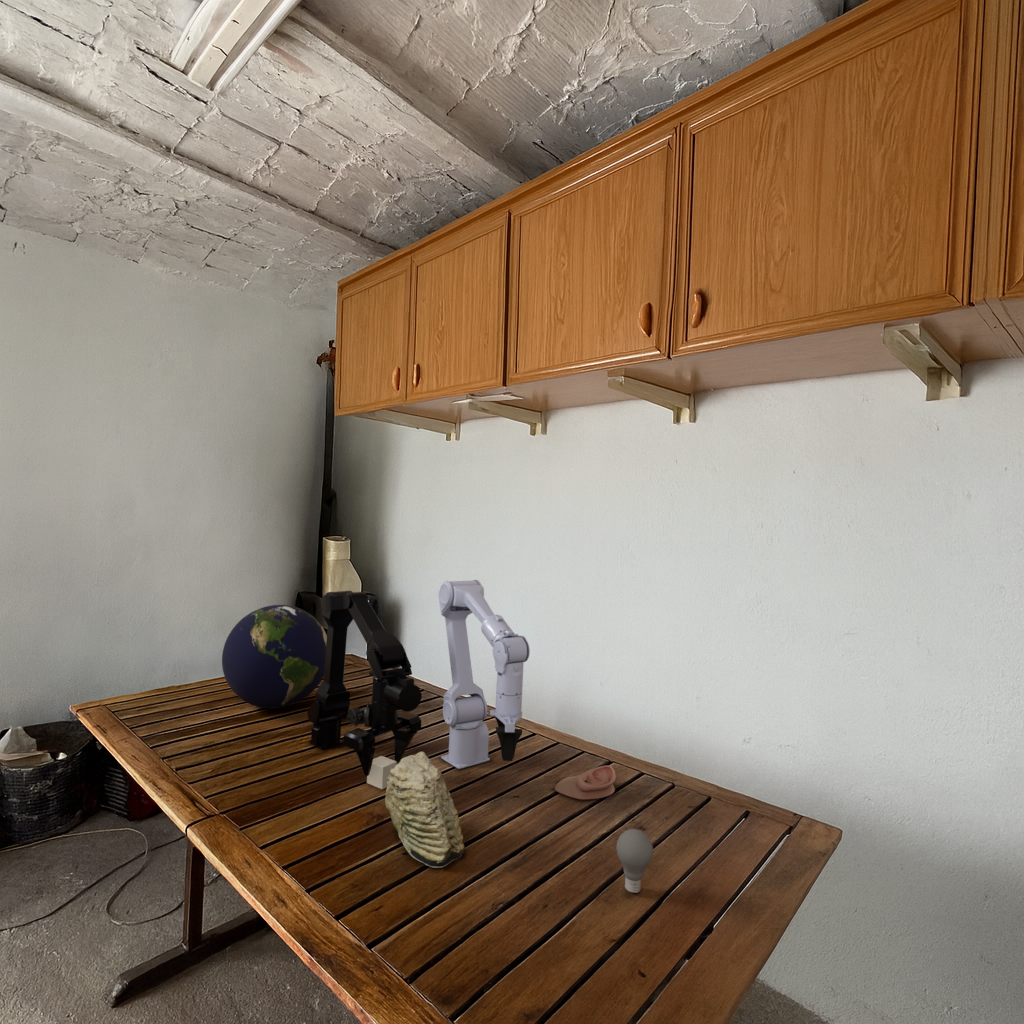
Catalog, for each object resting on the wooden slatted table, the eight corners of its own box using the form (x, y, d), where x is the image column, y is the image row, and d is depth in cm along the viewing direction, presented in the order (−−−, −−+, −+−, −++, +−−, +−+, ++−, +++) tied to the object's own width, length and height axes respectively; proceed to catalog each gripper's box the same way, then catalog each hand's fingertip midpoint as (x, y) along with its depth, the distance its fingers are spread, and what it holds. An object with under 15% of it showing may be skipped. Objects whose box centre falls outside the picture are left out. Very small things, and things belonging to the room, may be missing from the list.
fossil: (411, 815, 127) (414, 741, 127) (473, 855, 114) (476, 772, 114) (373, 831, 121) (376, 753, 120) (434, 874, 108) (437, 787, 107)
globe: (289, 685, 209) (292, 594, 208) (348, 705, 191) (352, 606, 191) (199, 706, 185) (203, 604, 184) (258, 732, 167) (262, 619, 167)
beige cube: (380, 776, 144) (381, 755, 144) (395, 783, 142) (396, 761, 142) (366, 783, 141) (367, 761, 141) (382, 789, 138) (383, 767, 138)
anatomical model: (553, 777, 138) (560, 757, 150) (552, 795, 138) (559, 774, 150) (614, 786, 136) (616, 764, 147) (613, 804, 136) (616, 781, 147)
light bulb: (610, 879, 108) (613, 822, 108) (644, 879, 109) (647, 822, 109) (619, 902, 102) (622, 840, 102) (655, 901, 103) (658, 840, 103)
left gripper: (390, 682, 153) (387, 746, 153) (327, 700, 138) (324, 771, 138) (424, 692, 147) (421, 759, 147) (362, 712, 131) (359, 787, 132)
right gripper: (490, 681, 146) (487, 740, 146) (491, 701, 132) (489, 766, 132) (520, 682, 147) (518, 740, 147) (525, 702, 132) (522, 767, 132)
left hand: (382, 768), depth 141 cm, fingers open, 9 cm apart
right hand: (506, 753), depth 139 cm, fingers open, 7 cm apart
